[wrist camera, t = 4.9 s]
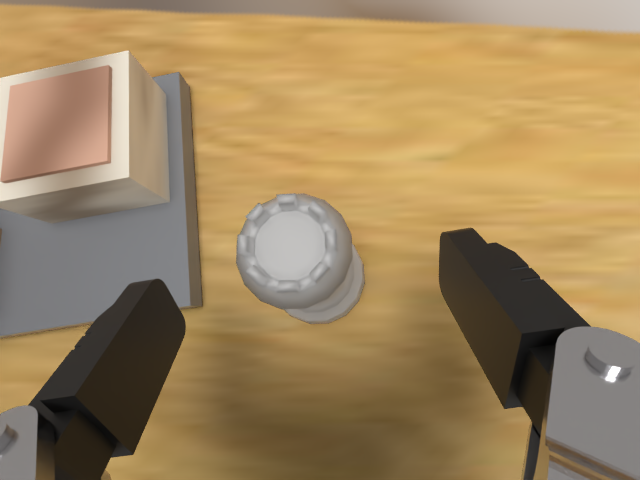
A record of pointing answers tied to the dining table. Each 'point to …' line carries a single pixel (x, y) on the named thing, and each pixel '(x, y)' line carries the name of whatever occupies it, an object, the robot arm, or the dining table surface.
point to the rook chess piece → (300, 258)
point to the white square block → (83, 140)
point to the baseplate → (105, 246)
